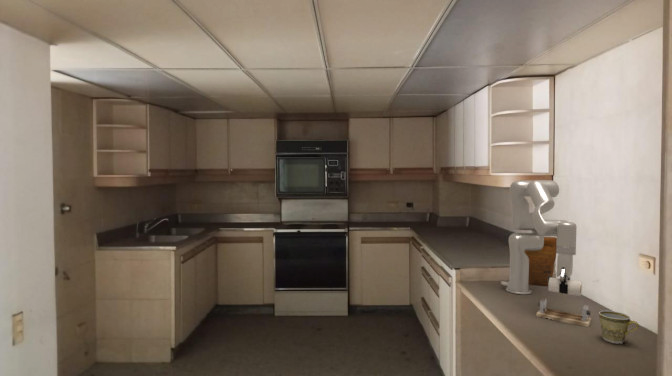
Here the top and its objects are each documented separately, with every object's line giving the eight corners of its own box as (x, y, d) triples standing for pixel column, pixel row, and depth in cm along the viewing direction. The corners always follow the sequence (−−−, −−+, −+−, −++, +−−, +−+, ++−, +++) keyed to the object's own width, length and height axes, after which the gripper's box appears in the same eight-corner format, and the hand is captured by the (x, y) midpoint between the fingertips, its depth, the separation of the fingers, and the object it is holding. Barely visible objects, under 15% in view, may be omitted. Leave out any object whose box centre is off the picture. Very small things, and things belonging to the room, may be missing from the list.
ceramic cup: (593, 339, 165) (594, 313, 164) (604, 333, 171) (605, 308, 170) (632, 350, 154) (633, 323, 154) (642, 344, 160) (643, 318, 160)
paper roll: (548, 292, 188) (548, 278, 187) (550, 289, 192) (551, 276, 192) (579, 297, 180) (580, 283, 180) (581, 294, 185) (582, 280, 185)
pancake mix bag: (557, 288, 238) (559, 238, 237) (520, 284, 244) (522, 235, 243) (555, 284, 244) (557, 236, 243) (519, 281, 250) (520, 234, 249)
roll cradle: (536, 316, 190) (536, 301, 189) (540, 311, 197) (541, 296, 196) (588, 327, 177) (588, 310, 177) (591, 321, 185) (591, 305, 184)
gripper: (560, 247, 195) (559, 286, 195) (552, 252, 181) (551, 294, 182) (578, 249, 190) (577, 289, 191) (572, 254, 177) (571, 297, 177)
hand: (564, 291), depth 186 cm, fingers closed on paper roll, 6 cm apart
